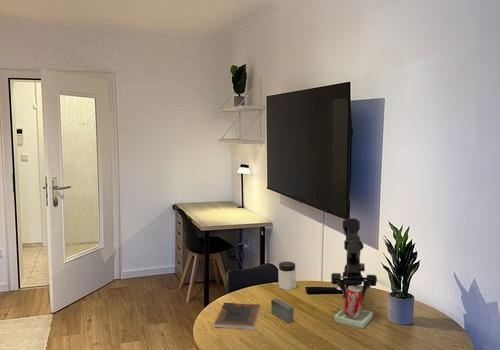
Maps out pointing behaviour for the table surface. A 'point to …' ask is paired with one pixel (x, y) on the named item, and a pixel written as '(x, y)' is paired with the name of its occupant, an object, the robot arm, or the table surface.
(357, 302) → the soda can
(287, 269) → the jar
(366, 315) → the tray
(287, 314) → the grey rectangular block
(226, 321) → the picture frame
